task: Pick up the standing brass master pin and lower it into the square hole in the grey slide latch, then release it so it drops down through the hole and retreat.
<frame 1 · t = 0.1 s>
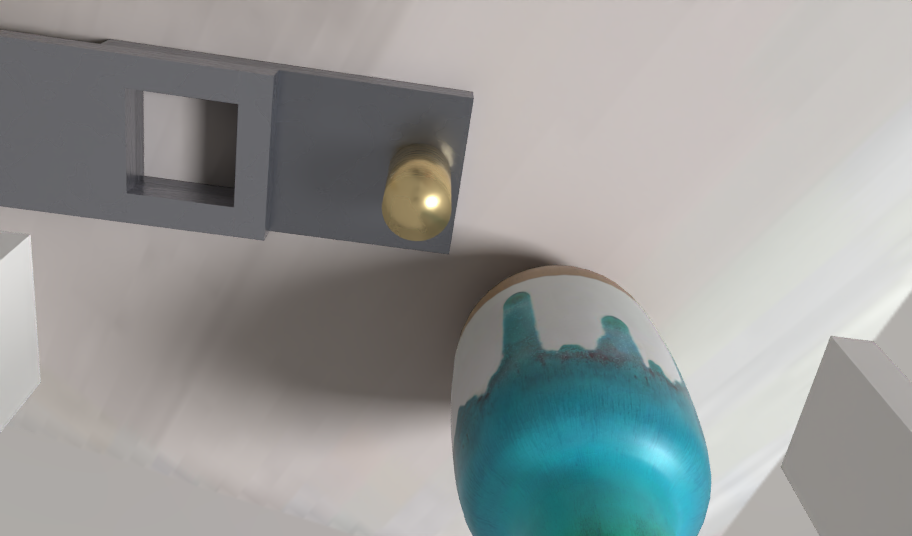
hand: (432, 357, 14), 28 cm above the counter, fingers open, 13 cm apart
grey slide latch: (195, 134, 41), on the counter
vase: (547, 324, 46), on the counter
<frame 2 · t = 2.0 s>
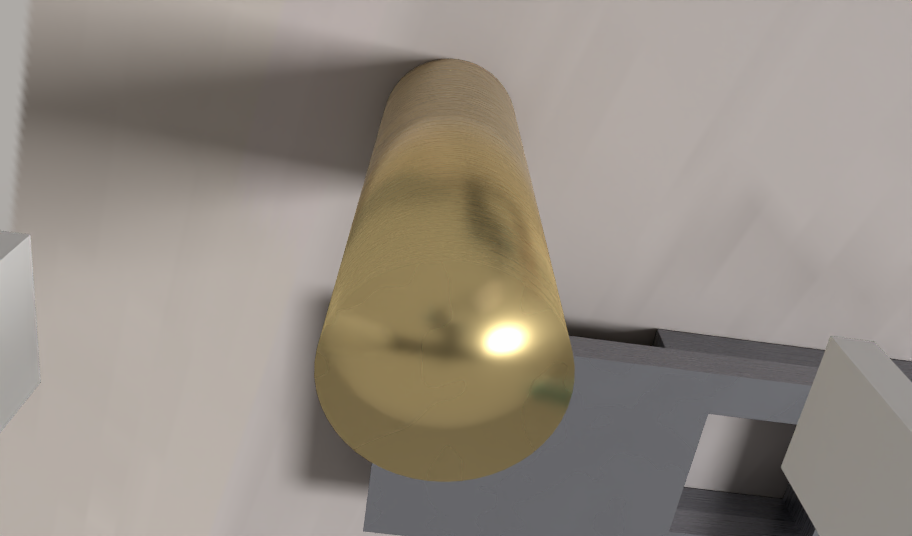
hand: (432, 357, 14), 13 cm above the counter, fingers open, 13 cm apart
grey slide latch: (737, 437, 31), on the counter
master pin: (449, 125, 26), on the counter
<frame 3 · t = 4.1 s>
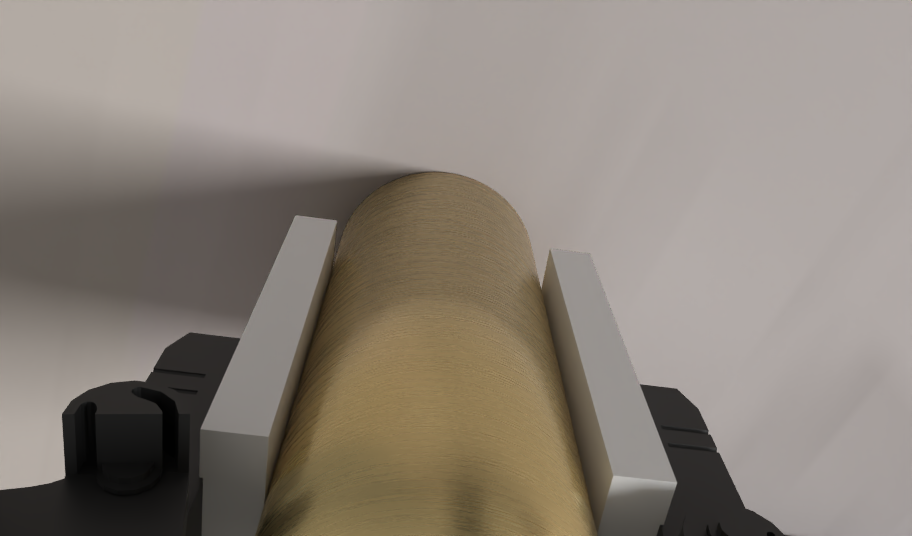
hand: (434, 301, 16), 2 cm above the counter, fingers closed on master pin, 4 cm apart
master pin: (435, 264, 17), on the counter, touching gripper
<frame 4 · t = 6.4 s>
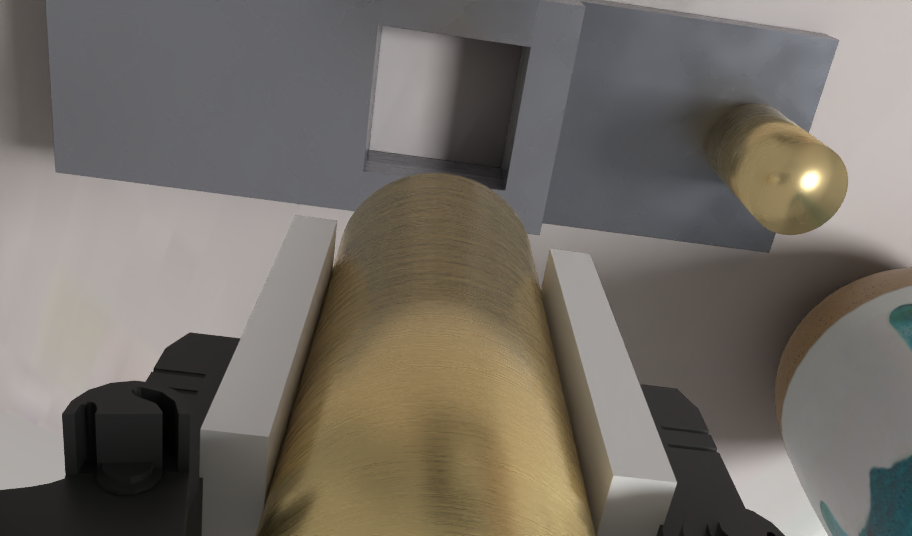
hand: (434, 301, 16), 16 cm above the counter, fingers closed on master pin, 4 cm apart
grey slide latch: (444, 93, 31), on the counter
vase: (866, 342, 35), on the counter
master pin: (435, 264, 18), point 15 cm above the counter, touching gripper
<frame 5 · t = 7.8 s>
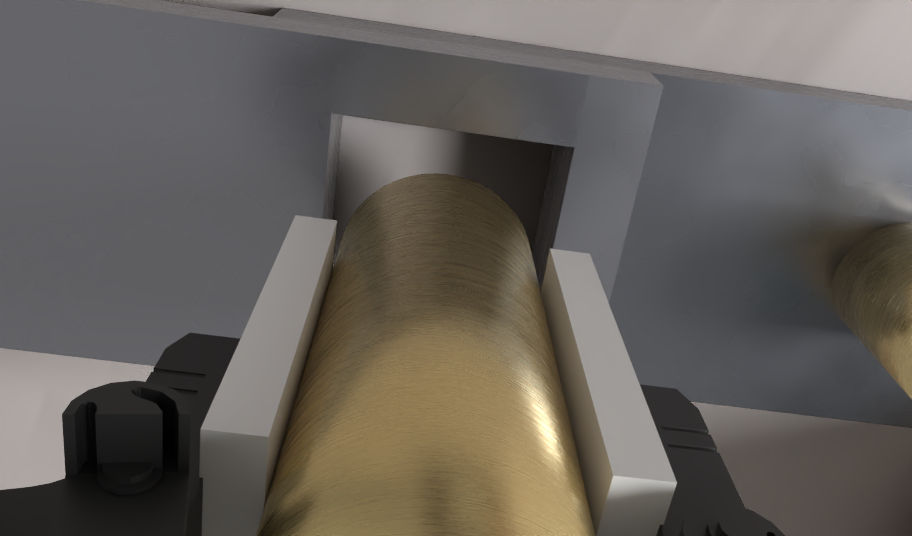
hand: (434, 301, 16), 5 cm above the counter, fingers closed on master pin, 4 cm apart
grey slide latch: (438, 201, 20), on the counter
master pin: (435, 265, 18), point 3 cm above the counter, touching gripper
when the fingers open (4 cm above the counter, at t = 8.7 s): master pin drops 2 cm, resting in grey slide latch.
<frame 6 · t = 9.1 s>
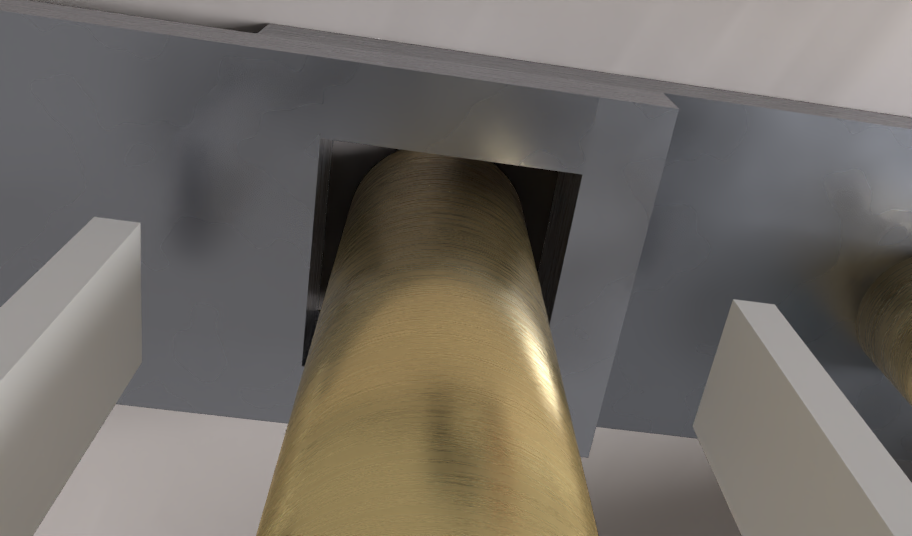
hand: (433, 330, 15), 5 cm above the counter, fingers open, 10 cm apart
grey slide latch: (436, 228, 19), on the counter
master pin: (436, 228, 19), resting in grey slide latch
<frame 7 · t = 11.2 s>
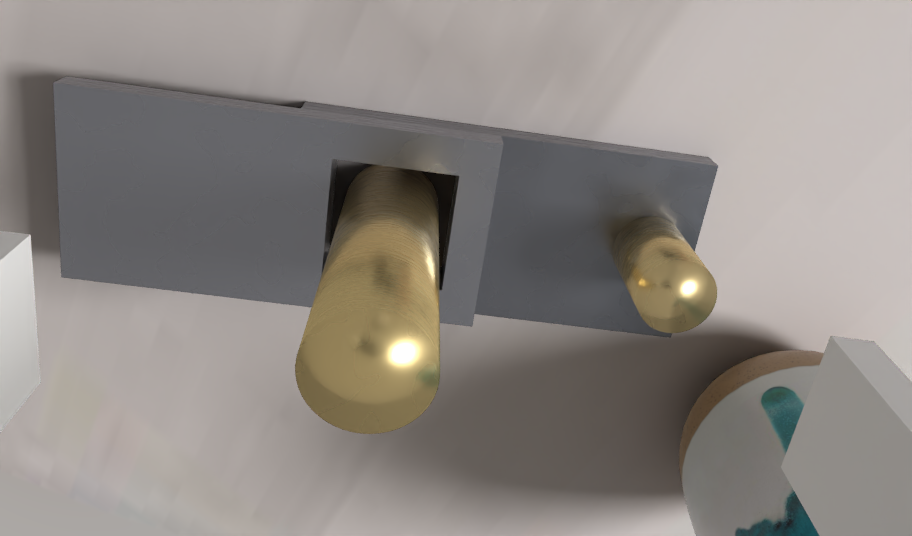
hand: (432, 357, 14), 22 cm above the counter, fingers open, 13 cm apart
grey slide latch: (391, 206, 36), on the counter
vase: (762, 410, 41), on the counter
master pin: (391, 206, 36), resting in grey slide latch
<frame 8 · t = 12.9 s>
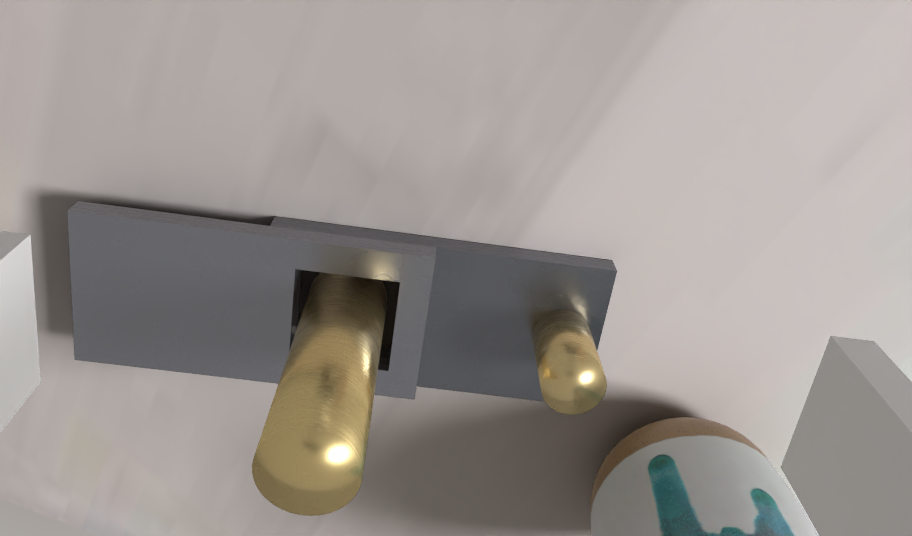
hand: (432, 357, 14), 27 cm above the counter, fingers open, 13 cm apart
grey slide latch: (348, 298, 43), on the counter
vase: (667, 461, 48), on the counter
master pin: (348, 298, 43), resting in grey slide latch
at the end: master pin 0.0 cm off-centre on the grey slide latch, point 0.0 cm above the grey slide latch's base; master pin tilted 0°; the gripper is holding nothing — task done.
